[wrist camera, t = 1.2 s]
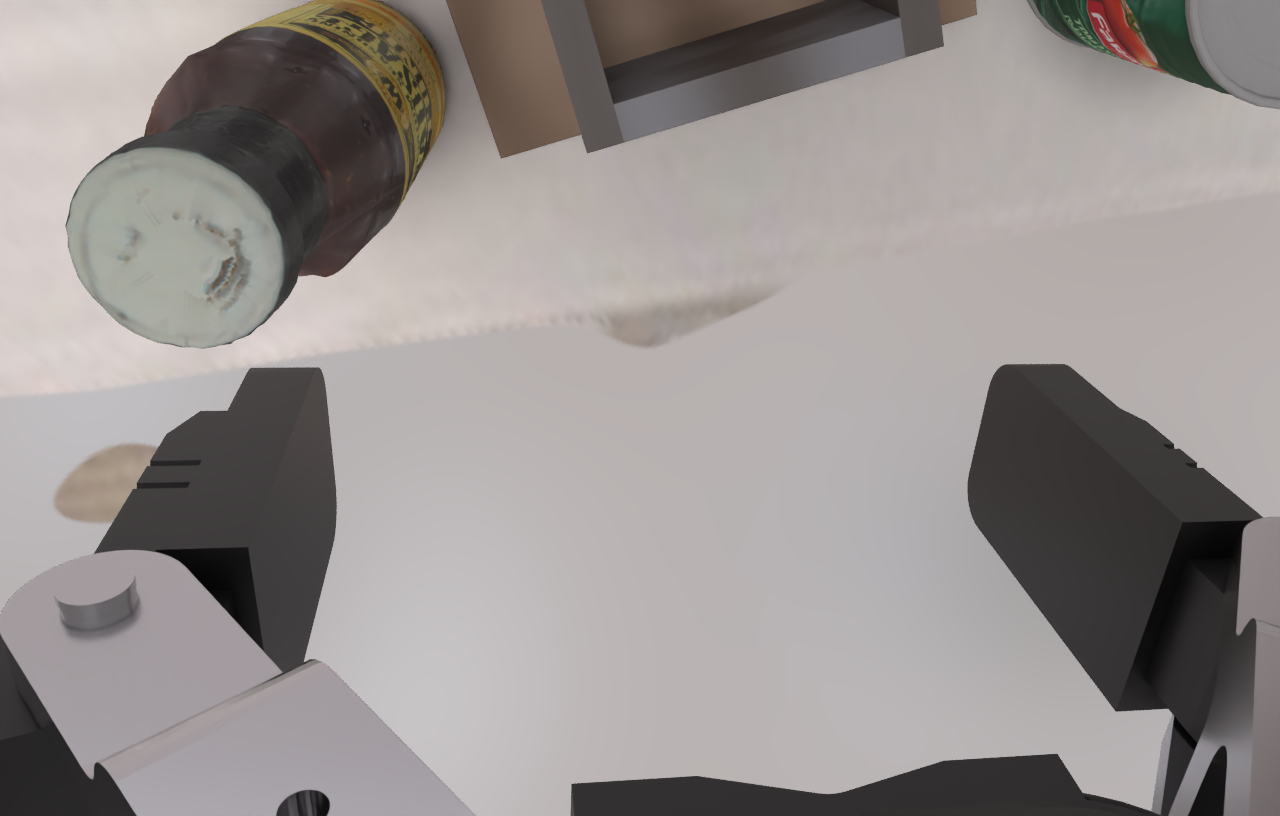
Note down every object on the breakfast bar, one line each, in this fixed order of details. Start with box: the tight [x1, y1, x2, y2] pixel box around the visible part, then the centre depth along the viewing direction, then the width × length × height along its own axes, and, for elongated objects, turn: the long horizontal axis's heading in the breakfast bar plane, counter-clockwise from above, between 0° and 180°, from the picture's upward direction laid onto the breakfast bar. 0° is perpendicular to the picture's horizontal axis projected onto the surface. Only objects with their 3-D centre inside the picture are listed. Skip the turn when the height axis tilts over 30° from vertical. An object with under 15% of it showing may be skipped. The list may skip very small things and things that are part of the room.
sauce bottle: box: [66, 0, 446, 348], centre depth 28 cm, size 7×6×20 cm
